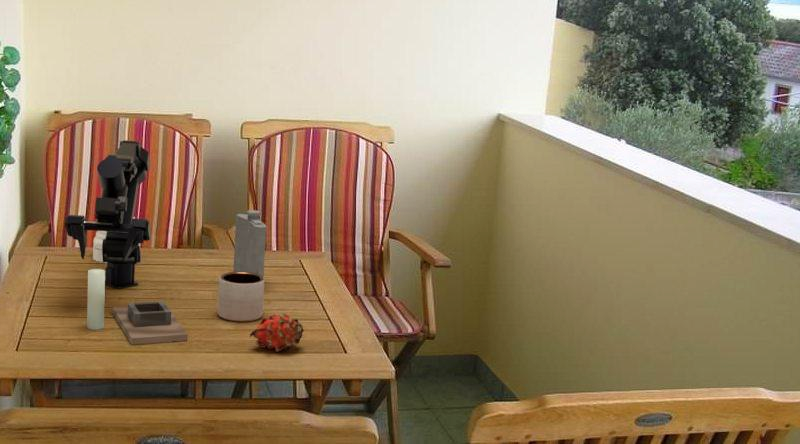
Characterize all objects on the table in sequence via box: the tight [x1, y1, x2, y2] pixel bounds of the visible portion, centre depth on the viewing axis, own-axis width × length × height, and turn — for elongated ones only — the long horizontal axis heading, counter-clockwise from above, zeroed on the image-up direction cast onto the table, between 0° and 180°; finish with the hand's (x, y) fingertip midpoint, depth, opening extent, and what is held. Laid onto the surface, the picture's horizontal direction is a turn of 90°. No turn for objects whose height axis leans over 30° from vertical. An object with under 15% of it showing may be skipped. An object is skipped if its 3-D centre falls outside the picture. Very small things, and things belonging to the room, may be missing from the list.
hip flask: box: [232, 209, 267, 278], centre depth 253 cm, size 16×4×20 cm, turn 31°
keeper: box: [112, 301, 188, 346], centre depth 214 cm, size 22×12×4 cm, turn 27°
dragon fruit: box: [249, 312, 305, 353], centre depth 207 cm, size 8×8×12 cm
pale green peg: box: [86, 268, 106, 331], centre depth 210 cm, size 4×4×13 cm
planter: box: [216, 271, 266, 323], centre depth 227 cm, size 11×11×10 cm
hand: (103, 259), depth 216 cm, fingers open, 9 cm apart
